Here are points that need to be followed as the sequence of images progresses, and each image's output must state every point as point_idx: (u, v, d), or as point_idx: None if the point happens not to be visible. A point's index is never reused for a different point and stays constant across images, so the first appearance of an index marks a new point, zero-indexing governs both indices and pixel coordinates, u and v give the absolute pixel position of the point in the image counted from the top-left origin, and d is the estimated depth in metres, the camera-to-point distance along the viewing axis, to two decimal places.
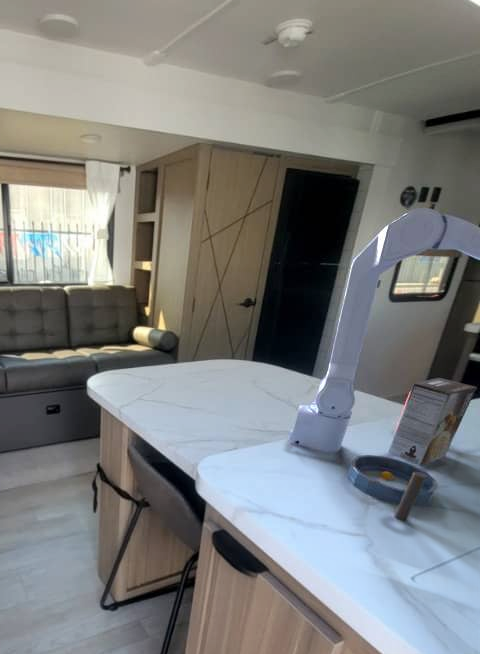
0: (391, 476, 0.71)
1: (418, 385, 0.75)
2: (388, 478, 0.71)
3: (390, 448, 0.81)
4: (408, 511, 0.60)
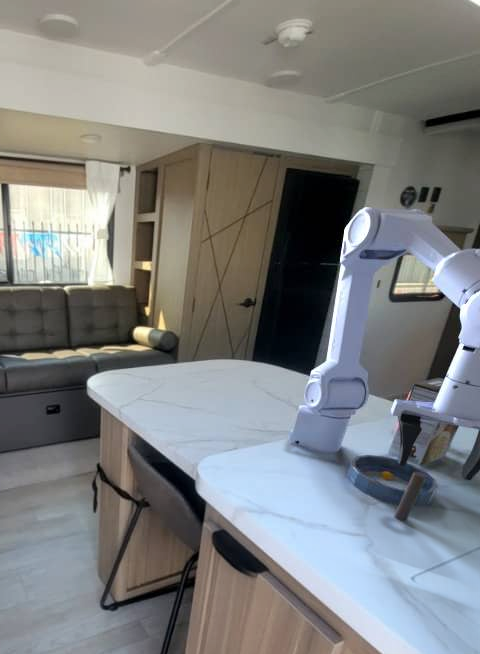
0: (391, 476, 0.71)
1: (418, 385, 0.75)
2: (388, 478, 0.71)
3: (390, 448, 0.81)
4: (408, 511, 0.60)
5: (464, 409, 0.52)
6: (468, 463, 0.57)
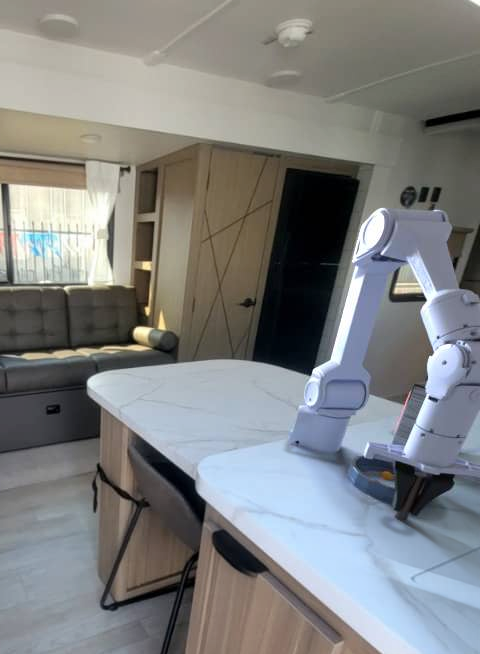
0: (391, 476, 0.71)
1: (418, 385, 0.75)
2: (388, 478, 0.71)
3: None
4: (408, 511, 0.60)
5: (430, 456, 0.54)
6: None
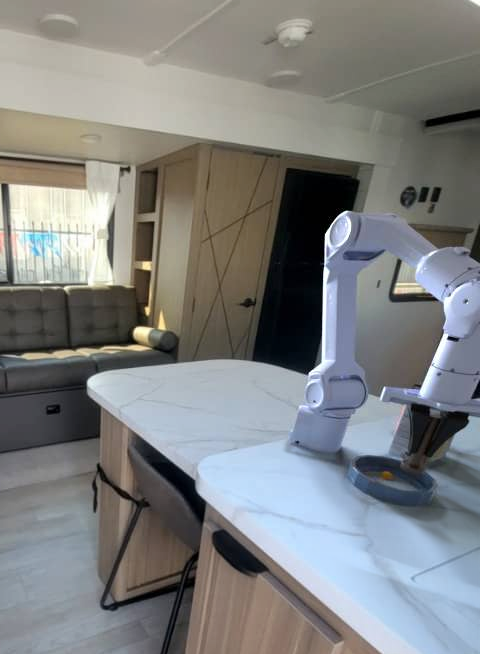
0: (391, 476, 0.71)
1: (418, 385, 0.75)
2: (388, 478, 0.71)
3: (390, 448, 0.81)
4: (423, 453, 0.62)
5: (446, 394, 0.56)
6: None
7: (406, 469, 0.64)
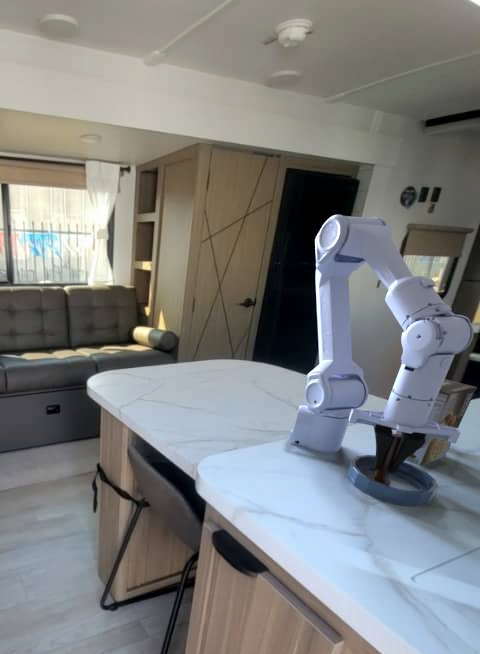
0: None
1: None
2: None
3: None
4: (387, 469, 0.69)
5: (405, 418, 0.63)
6: None
7: None
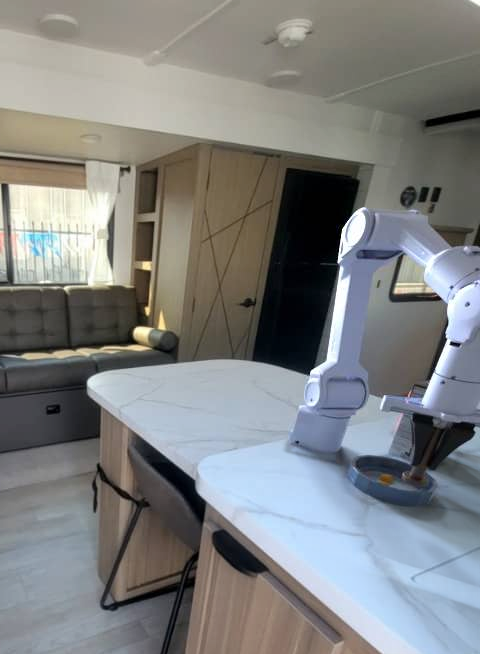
0: None
1: (418, 385, 0.75)
2: None
3: (390, 448, 0.81)
4: (423, 464, 0.59)
5: (451, 404, 0.53)
6: None
7: (405, 480, 0.60)
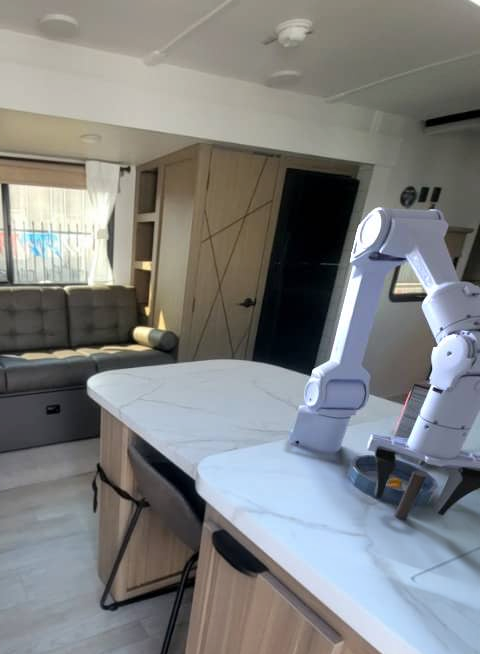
0: None
1: (418, 385, 0.75)
2: None
3: None
4: (406, 510, 0.60)
5: (434, 448, 0.54)
6: (441, 498, 0.59)
7: None
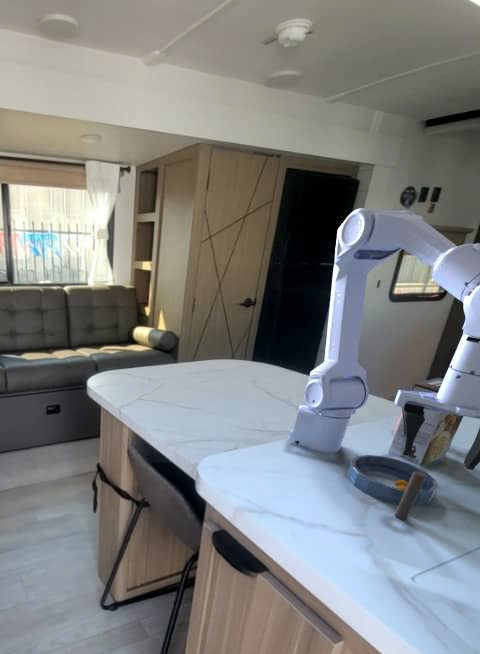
0: (395, 483, 0.70)
1: (418, 385, 0.75)
2: (398, 481, 0.70)
3: (390, 448, 0.81)
4: (406, 510, 0.60)
5: (466, 398, 0.53)
6: (471, 453, 0.58)
7: None
